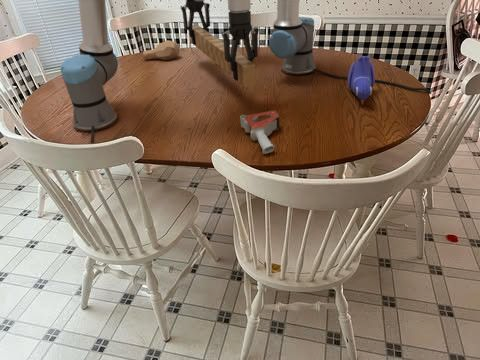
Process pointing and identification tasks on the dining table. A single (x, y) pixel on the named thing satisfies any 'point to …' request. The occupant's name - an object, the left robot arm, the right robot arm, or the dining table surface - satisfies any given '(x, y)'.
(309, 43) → the right robot arm
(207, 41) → the beam
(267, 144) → the tape dispenser
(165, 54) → the squash
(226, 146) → the dining table surface
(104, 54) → the left robot arm
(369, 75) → the toy
